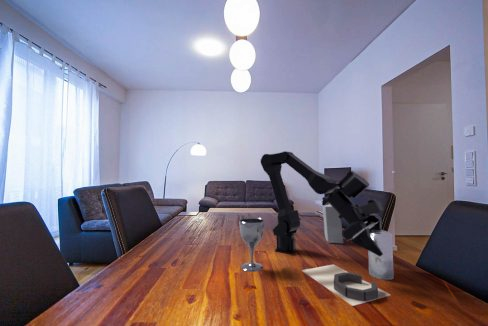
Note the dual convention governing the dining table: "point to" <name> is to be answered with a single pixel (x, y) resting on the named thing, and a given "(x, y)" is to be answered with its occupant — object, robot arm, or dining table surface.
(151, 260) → the dining table surface
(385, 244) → the grey round cylinder
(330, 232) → the skincare box
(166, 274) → the dining table surface
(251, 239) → the wine glass
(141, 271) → the dining table surface
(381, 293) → the ring stand
